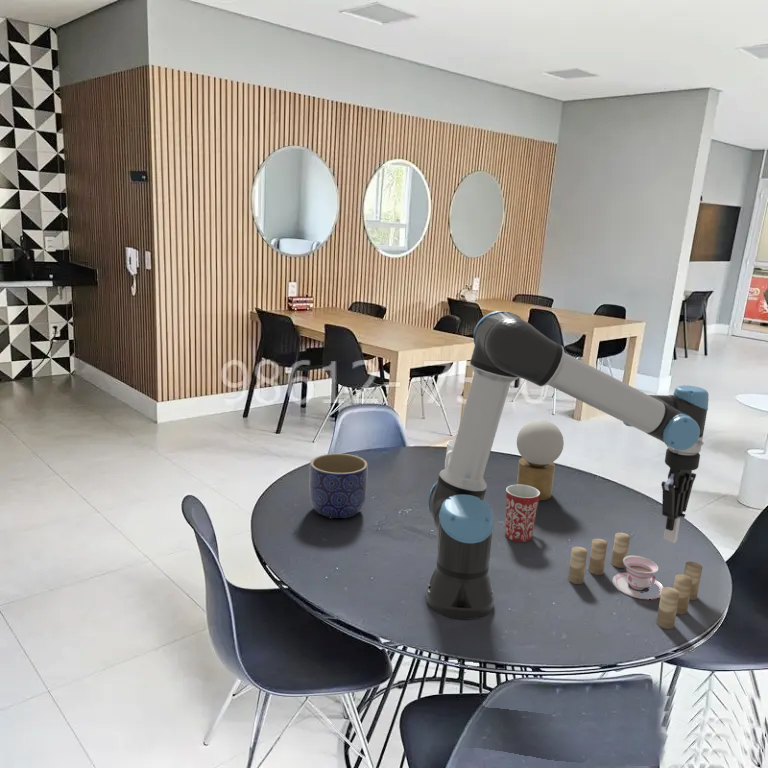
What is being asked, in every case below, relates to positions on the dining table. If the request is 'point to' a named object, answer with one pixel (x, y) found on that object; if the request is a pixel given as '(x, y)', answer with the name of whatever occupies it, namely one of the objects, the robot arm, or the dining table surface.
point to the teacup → (637, 576)
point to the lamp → (538, 455)
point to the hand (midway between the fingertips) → (670, 540)
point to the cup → (449, 452)
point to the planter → (338, 484)
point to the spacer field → (670, 597)
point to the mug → (520, 512)
